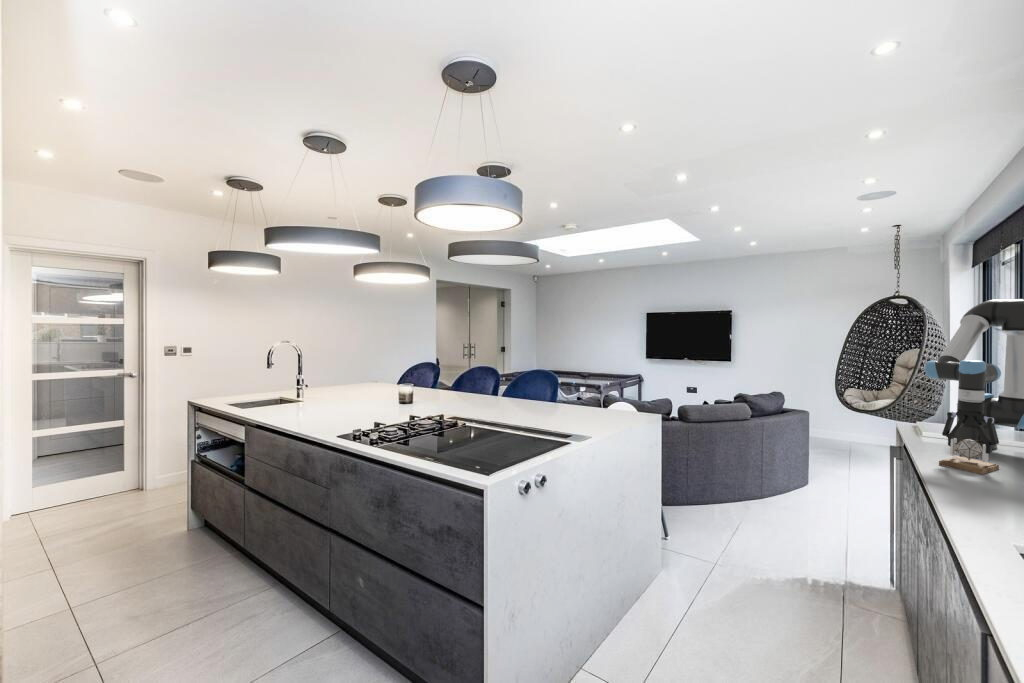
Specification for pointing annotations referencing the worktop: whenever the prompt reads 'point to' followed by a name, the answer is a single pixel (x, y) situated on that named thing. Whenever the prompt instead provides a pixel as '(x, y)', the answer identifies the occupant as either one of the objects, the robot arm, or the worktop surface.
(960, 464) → the plate
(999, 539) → the worktop surface
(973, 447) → the game die
